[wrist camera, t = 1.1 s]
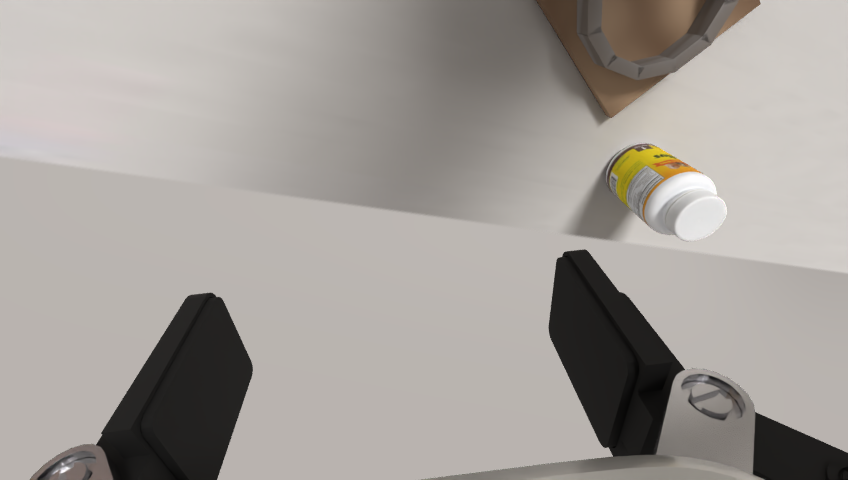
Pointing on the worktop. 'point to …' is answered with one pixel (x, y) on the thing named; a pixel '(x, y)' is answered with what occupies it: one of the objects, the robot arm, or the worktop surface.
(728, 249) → the worktop surface
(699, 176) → the supplement bottle
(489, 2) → the worktop surface
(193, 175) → the worktop surface
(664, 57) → the rosette collar
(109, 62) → the worktop surface
